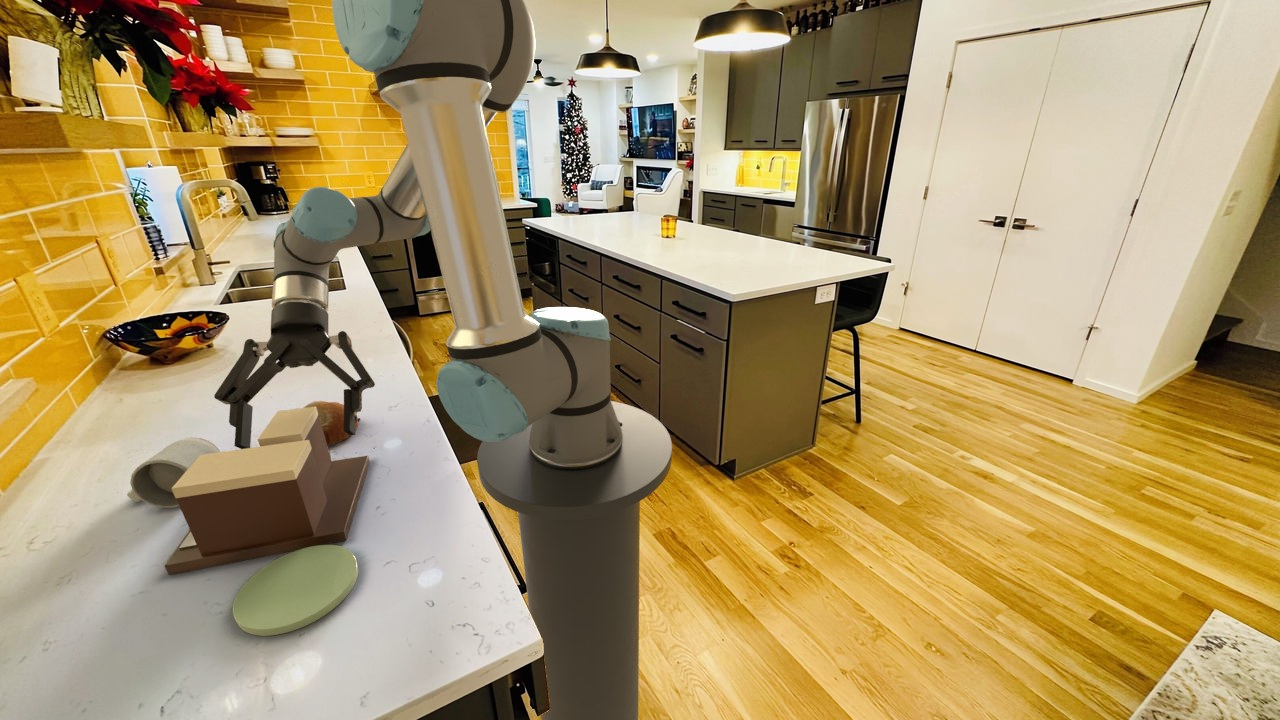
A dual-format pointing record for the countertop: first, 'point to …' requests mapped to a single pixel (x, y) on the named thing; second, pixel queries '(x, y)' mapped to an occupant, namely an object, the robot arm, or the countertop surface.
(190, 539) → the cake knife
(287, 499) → the cake
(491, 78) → the robot arm
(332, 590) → the plate
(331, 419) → the bread roll
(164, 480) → the ceramic mug
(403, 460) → the countertop surface
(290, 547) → the cake board
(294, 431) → the cake slice
